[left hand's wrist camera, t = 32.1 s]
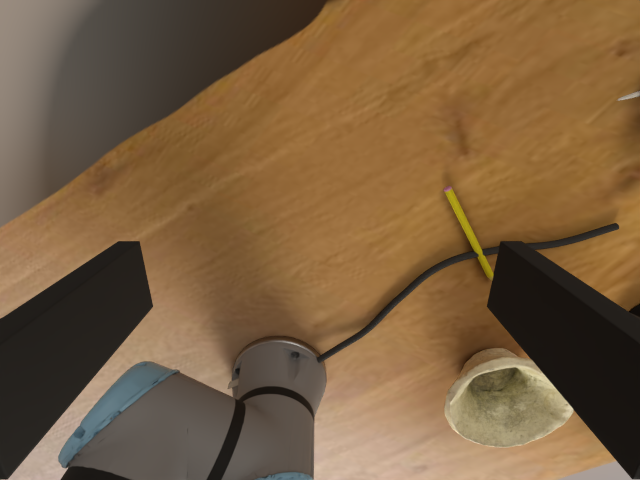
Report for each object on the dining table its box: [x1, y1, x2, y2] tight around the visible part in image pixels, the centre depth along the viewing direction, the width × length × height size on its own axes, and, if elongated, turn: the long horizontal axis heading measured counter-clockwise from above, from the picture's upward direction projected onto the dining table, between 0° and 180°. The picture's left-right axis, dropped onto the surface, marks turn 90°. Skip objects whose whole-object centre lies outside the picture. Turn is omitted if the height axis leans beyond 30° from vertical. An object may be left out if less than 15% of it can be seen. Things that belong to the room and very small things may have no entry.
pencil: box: [444, 186, 494, 281], centre depth 47 cm, size 16×1×1 cm, turn 32°
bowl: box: [444, 348, 574, 447], centre depth 50 cm, size 14×18×15 cm
